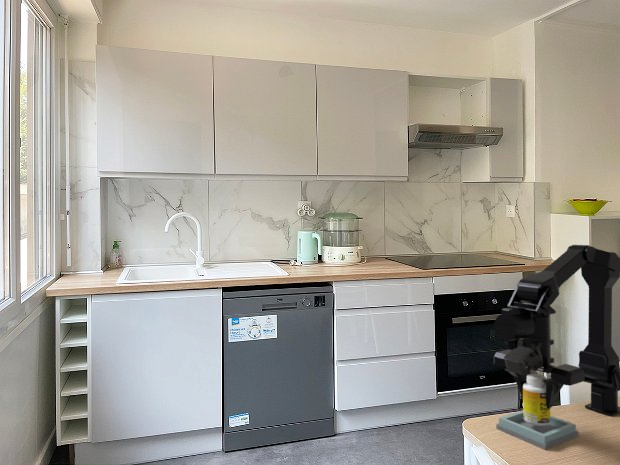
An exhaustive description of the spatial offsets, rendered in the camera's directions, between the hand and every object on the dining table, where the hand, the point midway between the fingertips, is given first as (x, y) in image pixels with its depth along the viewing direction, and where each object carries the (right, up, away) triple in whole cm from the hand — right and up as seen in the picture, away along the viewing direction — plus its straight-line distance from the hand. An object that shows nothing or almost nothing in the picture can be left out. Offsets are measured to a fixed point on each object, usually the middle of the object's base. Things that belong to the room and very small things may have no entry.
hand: (536, 403), depth 105 cm
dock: (0, -6, 0) cm, 6 cm away
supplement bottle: (0, -4, 0) cm, 4 cm away
